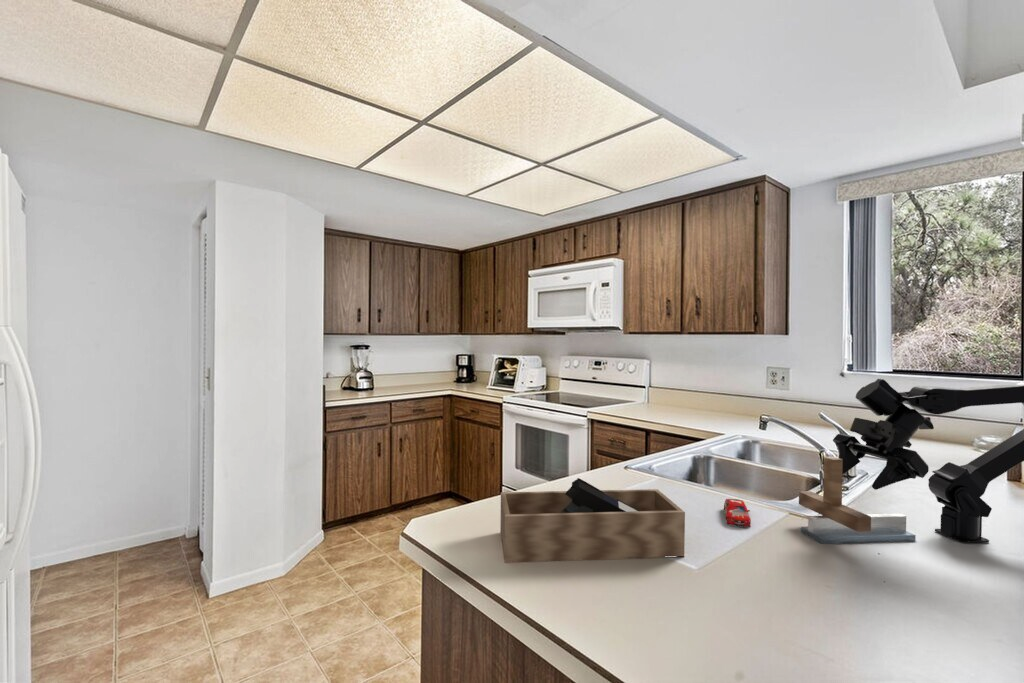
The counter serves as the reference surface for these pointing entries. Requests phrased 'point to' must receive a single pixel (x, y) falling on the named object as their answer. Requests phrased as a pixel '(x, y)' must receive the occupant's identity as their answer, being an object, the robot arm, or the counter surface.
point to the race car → (736, 513)
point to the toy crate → (589, 528)
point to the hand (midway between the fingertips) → (854, 481)
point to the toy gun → (592, 500)
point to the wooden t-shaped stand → (834, 499)
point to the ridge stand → (881, 531)
